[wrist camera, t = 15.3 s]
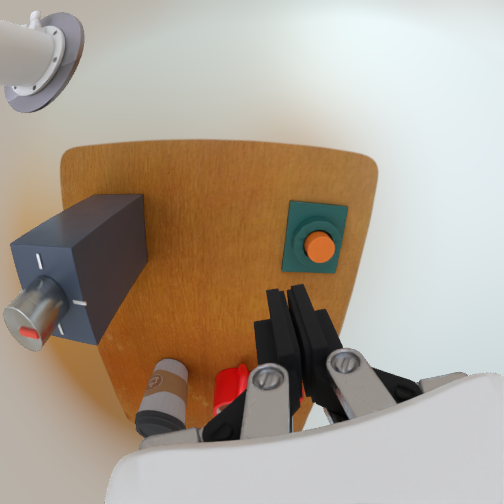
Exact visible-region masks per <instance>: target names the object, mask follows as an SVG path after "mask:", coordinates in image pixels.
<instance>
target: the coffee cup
mask: <svg viewBox="0 0 504 504" xmlns="http://www.w3.org/2000/svg"><path fill="white" fill-rule="evenodd" d="M187 383H188V371H187V369H186V367H185V366H184V365H183V364H182V363H181V362H179V361H177V360H174V359H163V360H161V361H160V362H158V363H157V364H156V366H155V369H154V371H153V374H152V375H151V378H150V380H149V383H148V386H147V388H146V391H145V393H144V396H143V400H142V403H141V406H140V408H139V411H138V413H137V414H136V419H135V424H136V430H137V432H138V433H139V434H140V435H142V436H143V437H144V438H146V437H149V436H152V435H157V434H163V433H169V432H174V431H179V430H184V429H186V427H185V411H186V403H187V389H188V386H187Z"/></svg>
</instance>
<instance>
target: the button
mask: <svg viewBox="0 0 504 504" xmlns="http://www.w3.org/2000/svg"><path fill="white" fill-rule="evenodd" d="M304 247H305V250H306V252H307V254H308V256H309V258H310V259H311V260H312V261H314V262H316V263H323V262H326V261H328V260H329V259H330V258H331V257H332V256H333V254H334V251H335V245H334V242H333V241H332V240H331V238H330V237H329V236H328V235H327V234H326V233H324V232H322V231H316V232H313V233H311V234H310V235H309V236H308V237H307V238H306V240H305V243H304Z"/></svg>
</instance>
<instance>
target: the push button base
mask: <svg viewBox="0 0 504 504" xmlns="http://www.w3.org/2000/svg"><path fill="white" fill-rule="evenodd" d="M347 210H348V207H347V206H342V205H332V204H322V203H312V202H301V201H290V202H289V211H288V220H287V228H286V237H285V245H284V253H283V261H282V268H281V269H282V271H286V272H313V273H335V271H336V267H337V262H338V258H339V253H340V248H341V243H342V238H343V233H344V227H345V222H346V216H347ZM316 231H322V232H324V233H326V234H327V235H328V236H329V237H330V238H331V240H332V241H333V242H334V245H335V251H334V254H333V256H332V257H331V258H330V259H329V260H328V261H326V262H323V263H316V262H314V261H312V260H311V259H310V258H309V256H308V254H307V252H306V250H305V247H304V243H305V240H306V238H307V237H308V236H309V235H310V234H311V233H313V232H316Z"/></svg>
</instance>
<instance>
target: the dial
mask: <svg viewBox="0 0 504 504" xmlns="http://www.w3.org/2000/svg"><path fill="white" fill-rule="evenodd" d="M67 312H68V301H67V298H66V296H65V294H64V292H63V291H62V289H61V288H60V287H59V285H58V284H57V283H56V282H54V281H53V280H52V279H50V278H48V277H45V276H39V277H37V278H35V279H34V280H33V281H32V282H31V283H30V284H29V285H28V286H27V287H26V288H25V289H24V290H23V291H22V292H21V293H20V294H19V295H18V296H17V297H16V298H15V299H14V300H13V301H12V302H11V303H10V304H9V305H8V306H7V307H6V308H5V310H4V314H3V315H4V321H5V323H6V326H7V328H8V330H9V331H10V333H11V334H12V336H13V337H14V338H15V339H16V340H17V341H18V342H19V343H20V344H21V345H22V346H24V347H25V348H27V349H29V350H31V351H40V350H41V348H42V347H43V346H44V344H45V343H46V341H47V340H48V339H49V337H50V336H51V334H52V333H53V332H54V330H55V329H56V327H57V326H58V325H59V323H60V322H61V321H62V319H63V318H64V317H65V315H66V314H67Z"/></svg>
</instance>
